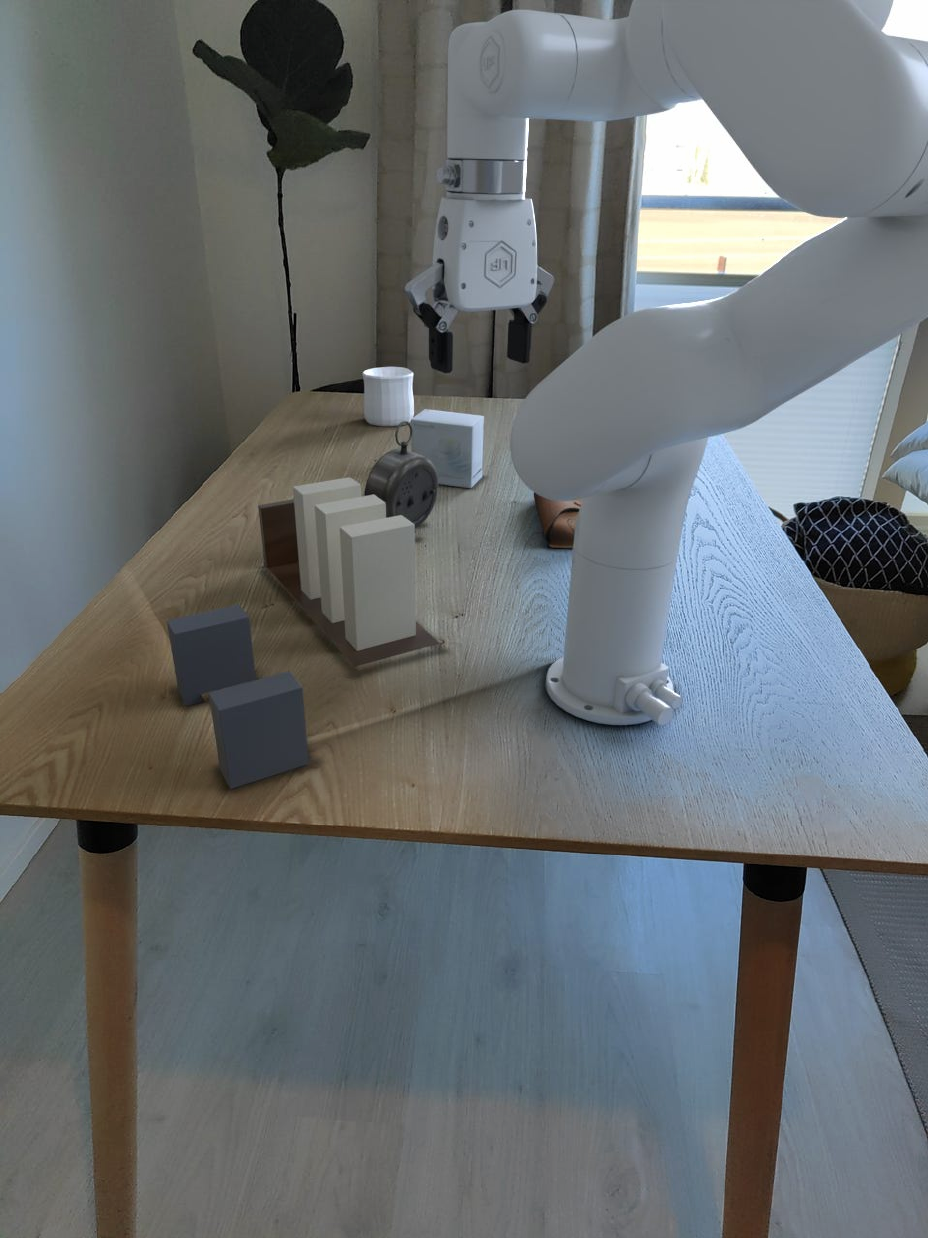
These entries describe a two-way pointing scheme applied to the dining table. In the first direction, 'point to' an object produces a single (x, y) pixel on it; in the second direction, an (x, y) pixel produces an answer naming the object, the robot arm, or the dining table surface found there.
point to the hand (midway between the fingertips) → (480, 365)
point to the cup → (388, 396)
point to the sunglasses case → (558, 520)
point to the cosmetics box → (450, 445)
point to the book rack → (285, 568)
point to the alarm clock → (404, 483)
